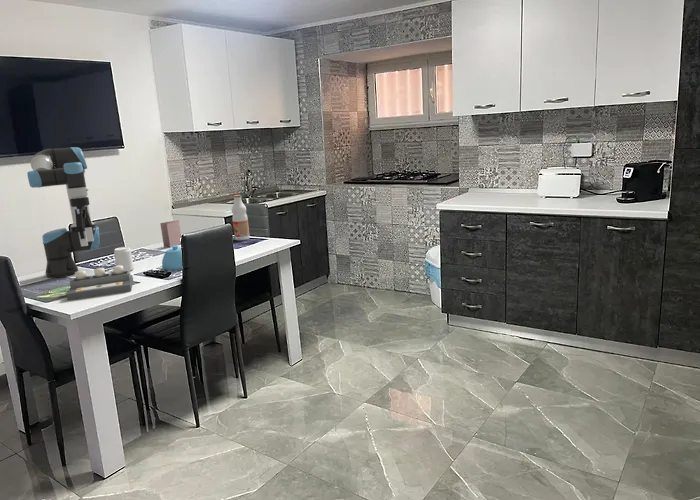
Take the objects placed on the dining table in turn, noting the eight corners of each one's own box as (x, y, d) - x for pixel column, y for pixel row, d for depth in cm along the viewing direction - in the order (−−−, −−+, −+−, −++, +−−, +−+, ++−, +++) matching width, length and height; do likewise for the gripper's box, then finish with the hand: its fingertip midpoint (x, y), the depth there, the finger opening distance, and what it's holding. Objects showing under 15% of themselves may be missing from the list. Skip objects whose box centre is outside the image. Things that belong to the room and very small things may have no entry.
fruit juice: (247, 240, 331) (242, 195, 324) (233, 241, 332) (227, 196, 325) (251, 237, 340) (246, 193, 333) (237, 237, 341) (232, 194, 334)
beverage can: (128, 272, 271) (124, 250, 268) (114, 273, 273) (110, 250, 270) (137, 268, 279) (133, 246, 276) (123, 268, 280) (119, 246, 278)
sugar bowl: (198, 265, 276) (195, 244, 273) (172, 273, 265) (169, 250, 262) (183, 262, 286) (180, 241, 283) (157, 269, 275) (154, 247, 272)
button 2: (114, 272, 248) (113, 266, 247) (124, 270, 249) (123, 264, 248) (113, 274, 244) (112, 268, 243) (123, 273, 245) (122, 266, 244)
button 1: (76, 277, 243) (75, 271, 242) (87, 276, 244) (86, 269, 244) (75, 279, 239) (74, 273, 238) (85, 278, 240) (84, 272, 240)
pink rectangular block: (181, 243, 336) (178, 220, 332) (185, 245, 330) (181, 221, 326) (163, 246, 329) (159, 222, 326) (166, 248, 323) (163, 224, 320)
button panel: (74, 289, 247) (71, 277, 246) (133, 280, 255) (131, 268, 254) (67, 300, 231) (64, 287, 229) (131, 291, 238) (128, 278, 237)
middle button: (95, 274, 245) (94, 268, 245) (106, 273, 247) (104, 267, 246) (94, 277, 241) (93, 270, 241) (105, 275, 243) (103, 269, 242)
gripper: (82, 198, 226) (91, 246, 230) (93, 194, 250) (101, 238, 254) (62, 200, 224) (72, 249, 228) (76, 196, 248) (84, 240, 252)
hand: (87, 243), depth 241 cm, fingers open, 13 cm apart
